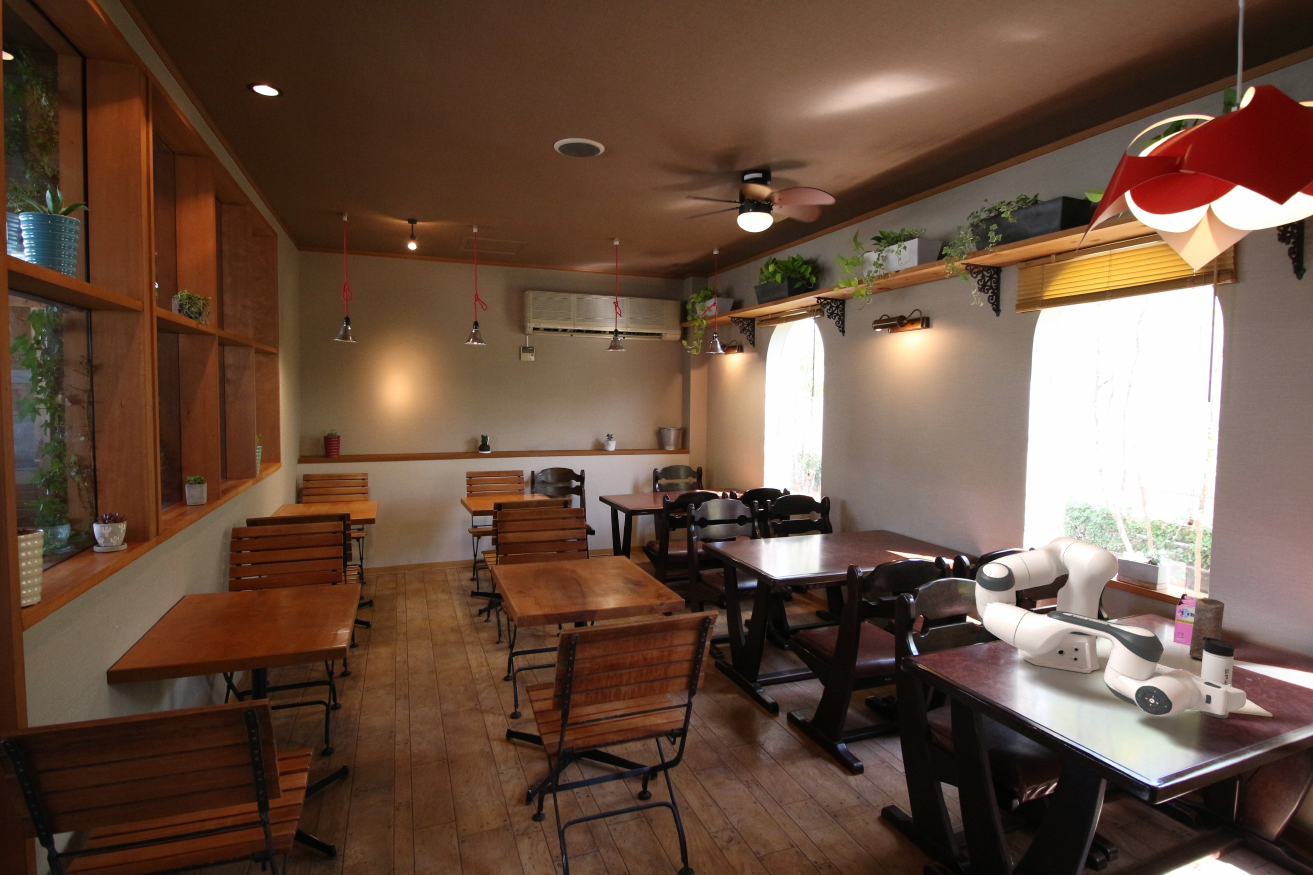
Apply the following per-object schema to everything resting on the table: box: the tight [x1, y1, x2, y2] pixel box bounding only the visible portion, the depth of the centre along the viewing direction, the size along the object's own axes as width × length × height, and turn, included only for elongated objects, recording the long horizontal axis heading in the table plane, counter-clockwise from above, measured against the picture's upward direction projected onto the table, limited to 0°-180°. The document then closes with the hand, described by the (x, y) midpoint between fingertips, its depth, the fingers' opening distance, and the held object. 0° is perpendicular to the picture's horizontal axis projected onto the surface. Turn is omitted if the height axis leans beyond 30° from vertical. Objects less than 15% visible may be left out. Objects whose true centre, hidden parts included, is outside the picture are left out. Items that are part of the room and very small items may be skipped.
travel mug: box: [1199, 637, 1235, 720], centre depth 178 cm, size 6×7×20 cm
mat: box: [1229, 698, 1273, 717], centre depth 186 cm, size 10×16×1 cm, turn 170°
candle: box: [1188, 597, 1225, 661], centre depth 218 cm, size 8×7×20 cm
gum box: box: [1172, 593, 1207, 647], centre depth 241 cm, size 24×8×14 cm, turn 137°
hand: (1205, 679), depth 174 cm, fingers open, 8 cm apart
